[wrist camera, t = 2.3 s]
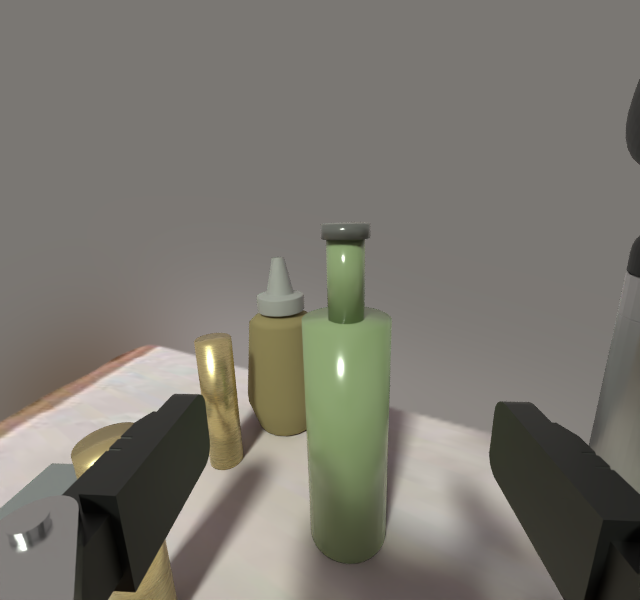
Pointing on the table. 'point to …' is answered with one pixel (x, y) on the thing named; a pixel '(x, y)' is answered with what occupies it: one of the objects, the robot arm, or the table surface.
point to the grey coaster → (42, 487)
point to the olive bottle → (347, 404)
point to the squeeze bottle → (278, 356)
